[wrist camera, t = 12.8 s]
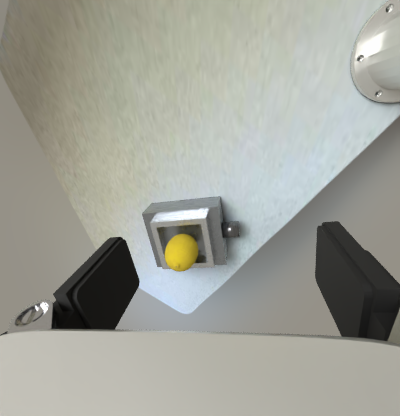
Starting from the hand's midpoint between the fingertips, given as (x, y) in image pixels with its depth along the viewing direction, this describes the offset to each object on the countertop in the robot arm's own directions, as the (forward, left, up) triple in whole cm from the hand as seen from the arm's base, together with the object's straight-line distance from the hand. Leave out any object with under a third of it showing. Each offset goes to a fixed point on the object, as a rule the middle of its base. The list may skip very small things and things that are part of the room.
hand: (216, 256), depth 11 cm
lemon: (+10, +14, -26) cm, 31 cm away
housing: (+8, +14, -30) cm, 34 cm away
